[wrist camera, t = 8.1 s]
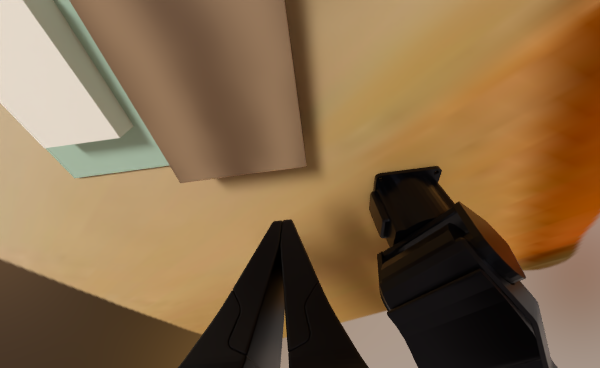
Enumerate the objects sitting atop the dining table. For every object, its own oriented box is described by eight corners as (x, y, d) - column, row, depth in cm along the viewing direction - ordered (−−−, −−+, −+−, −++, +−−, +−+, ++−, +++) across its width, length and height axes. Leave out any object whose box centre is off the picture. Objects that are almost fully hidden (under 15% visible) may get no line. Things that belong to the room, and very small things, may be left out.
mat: (44, -147, 10) (39, -150, 10) (198, 159, 21) (197, 161, 21) (-189, -99, 11) (-199, -101, 11) (76, 176, 22) (74, 178, 22)
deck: (262, -171, 10) (251, -242, 7) (303, 140, 21) (306, 166, 17) (54, -129, 11) (-39, -178, 8) (195, 155, 21) (180, 183, 18)
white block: (-104, -4, 12) (-59, -4, 13) (44, 148, 17) (64, 135, 19) (6, -23, 11) (40, -21, 13) (120, 137, 17) (133, 126, 19)
